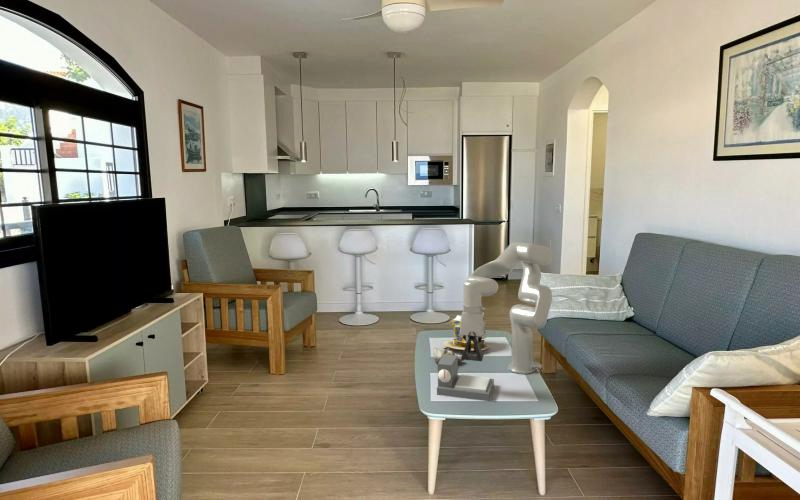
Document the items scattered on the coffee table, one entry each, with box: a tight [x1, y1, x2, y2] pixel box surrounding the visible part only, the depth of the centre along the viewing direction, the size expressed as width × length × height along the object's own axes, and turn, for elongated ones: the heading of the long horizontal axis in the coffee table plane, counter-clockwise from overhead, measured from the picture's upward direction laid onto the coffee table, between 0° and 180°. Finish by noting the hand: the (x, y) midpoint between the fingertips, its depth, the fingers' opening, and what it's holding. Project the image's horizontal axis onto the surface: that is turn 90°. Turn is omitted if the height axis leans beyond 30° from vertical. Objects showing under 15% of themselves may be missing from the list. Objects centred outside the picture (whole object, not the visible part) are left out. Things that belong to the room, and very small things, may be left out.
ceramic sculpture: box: [433, 347, 465, 364], centre depth 235 cm, size 11×9×15 cm
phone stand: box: [460, 332, 484, 362], centre depth 201 cm, size 9×6×12 cm, turn 75°
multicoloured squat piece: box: [442, 314, 490, 351], centre depth 256 cm, size 25×25×17 cm
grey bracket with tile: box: [436, 354, 495, 402], centre depth 205 cm, size 22×16×13 cm
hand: (472, 350), depth 202 cm, fingers closed on phone stand
